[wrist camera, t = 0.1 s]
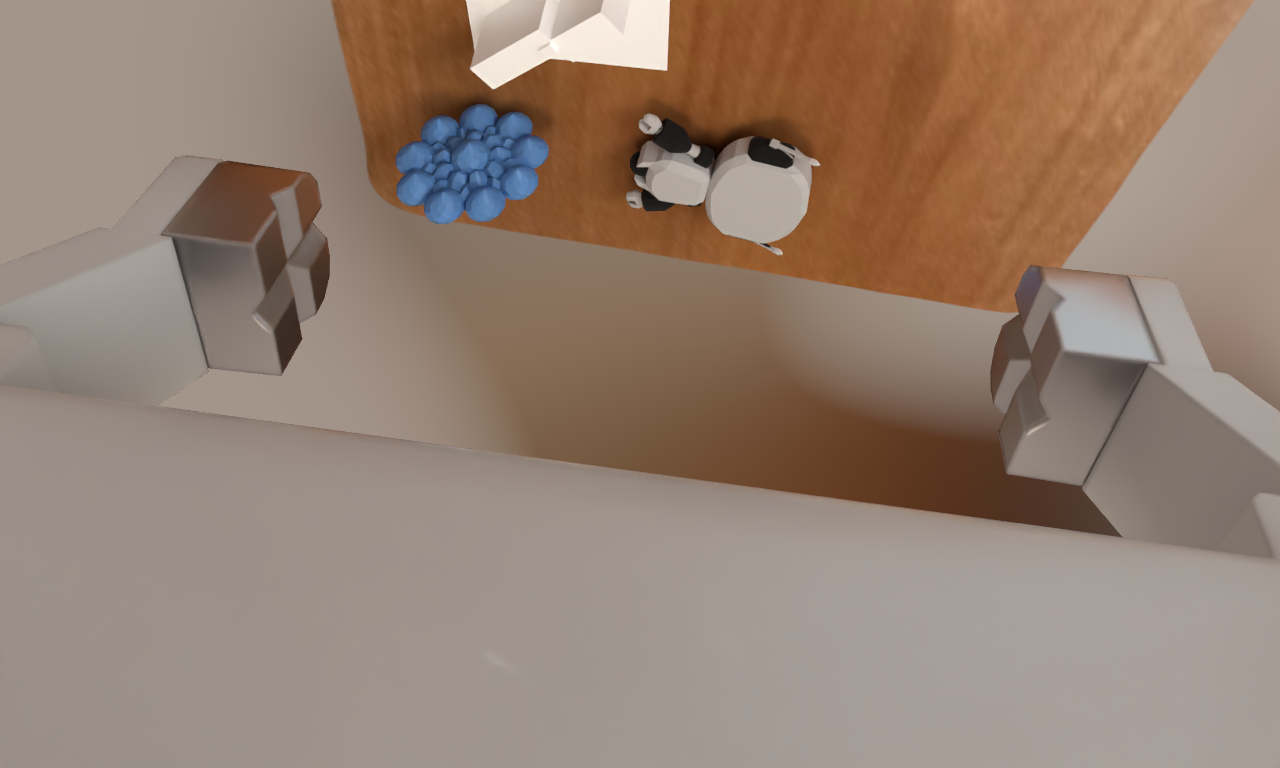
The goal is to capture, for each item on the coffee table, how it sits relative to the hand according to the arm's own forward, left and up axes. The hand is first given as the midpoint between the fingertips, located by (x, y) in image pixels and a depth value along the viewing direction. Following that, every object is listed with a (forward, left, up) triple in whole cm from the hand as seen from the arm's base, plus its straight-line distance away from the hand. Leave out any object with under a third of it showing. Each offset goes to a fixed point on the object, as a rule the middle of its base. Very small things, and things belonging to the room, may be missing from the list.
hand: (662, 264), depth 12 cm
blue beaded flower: (+55, +22, -52) cm, 79 cm away
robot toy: (+43, +38, -52) cm, 78 cm away
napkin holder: (+40, +19, -52) cm, 69 cm away
